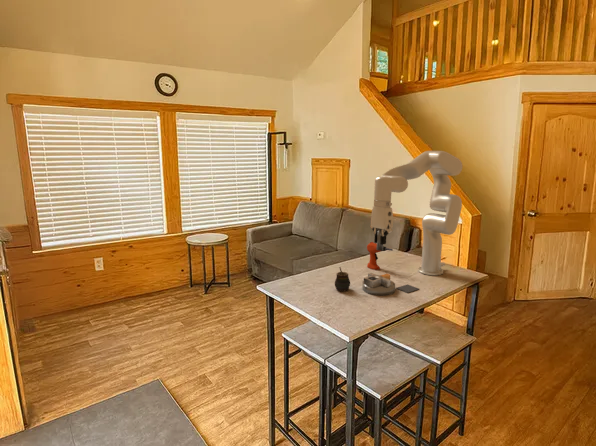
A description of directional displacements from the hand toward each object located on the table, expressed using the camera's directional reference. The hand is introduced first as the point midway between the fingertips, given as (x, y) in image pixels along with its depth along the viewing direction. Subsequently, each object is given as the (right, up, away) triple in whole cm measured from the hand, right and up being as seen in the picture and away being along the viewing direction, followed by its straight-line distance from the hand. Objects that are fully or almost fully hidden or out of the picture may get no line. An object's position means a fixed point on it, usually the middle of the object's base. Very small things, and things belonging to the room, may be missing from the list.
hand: (380, 243), depth 173 cm
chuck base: (0, -22, +3) cm, 22 cm away
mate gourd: (-17, -22, +3) cm, 28 cm away
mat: (+14, -22, +3) cm, 26 cm away
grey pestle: (0, -3, +1) cm, 3 cm away
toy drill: (+6, -17, +31) cm, 35 cm away
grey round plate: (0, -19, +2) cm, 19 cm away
